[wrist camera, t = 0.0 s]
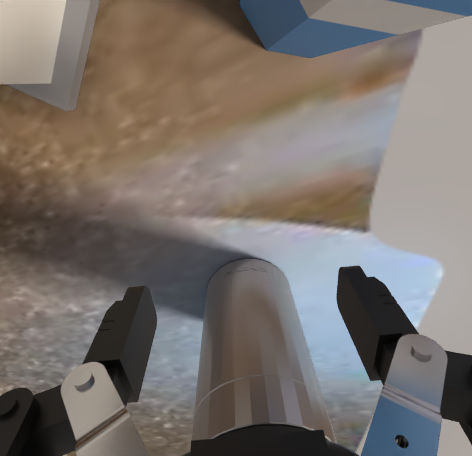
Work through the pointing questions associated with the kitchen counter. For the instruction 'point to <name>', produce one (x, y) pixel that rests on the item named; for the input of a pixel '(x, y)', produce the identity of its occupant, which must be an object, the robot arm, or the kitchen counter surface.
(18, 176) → the kitchen counter surface
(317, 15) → the water bottle
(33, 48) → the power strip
